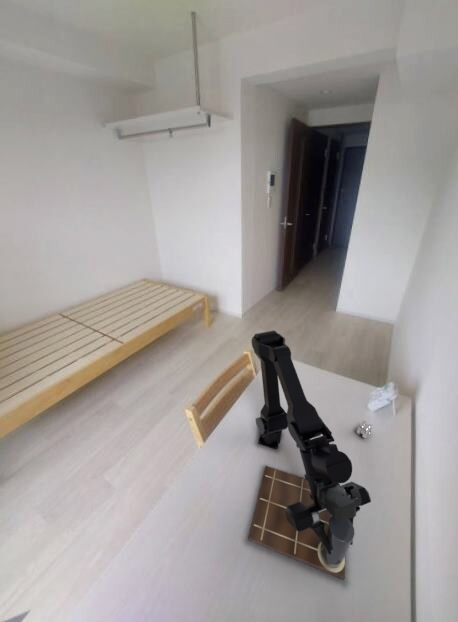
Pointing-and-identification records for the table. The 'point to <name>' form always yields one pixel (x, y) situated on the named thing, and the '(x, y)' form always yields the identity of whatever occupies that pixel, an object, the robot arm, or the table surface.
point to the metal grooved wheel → (364, 429)
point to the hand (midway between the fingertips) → (340, 548)
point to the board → (277, 530)
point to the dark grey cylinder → (337, 542)
